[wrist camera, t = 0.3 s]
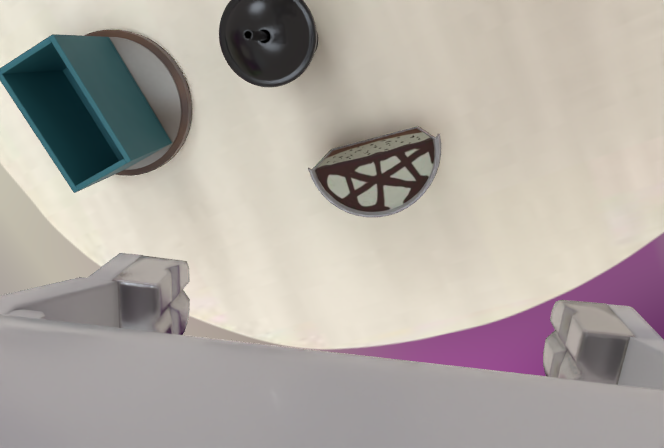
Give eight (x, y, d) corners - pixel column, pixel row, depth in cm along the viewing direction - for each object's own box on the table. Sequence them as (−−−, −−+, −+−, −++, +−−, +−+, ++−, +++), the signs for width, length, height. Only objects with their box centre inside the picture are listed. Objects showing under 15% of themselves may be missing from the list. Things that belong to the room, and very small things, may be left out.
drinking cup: (342, 13, 55) (319, -6, 36) (318, 88, 58) (285, 108, 39) (268, -13, 55) (207, -45, 36) (248, 64, 57) (180, 72, 38)
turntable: (50, 24, 58) (42, 23, 57) (192, 36, 57) (187, 35, 56) (60, 166, 63) (53, 169, 61) (192, 179, 62) (187, 182, 60)
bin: (108, 36, 56) (52, 34, 47) (172, 142, 59) (131, 160, 49) (58, 68, 58) (-7, 72, 48) (122, 170, 60) (73, 193, 51)
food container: (333, 207, 61) (323, 236, 52) (317, 152, 60) (304, 172, 50) (445, 179, 59) (457, 204, 50) (432, 122, 57) (441, 137, 48)
